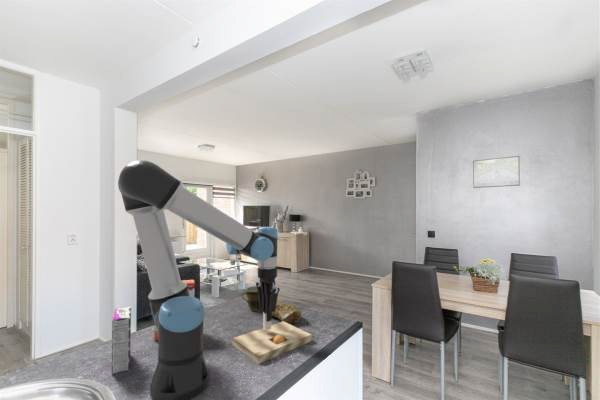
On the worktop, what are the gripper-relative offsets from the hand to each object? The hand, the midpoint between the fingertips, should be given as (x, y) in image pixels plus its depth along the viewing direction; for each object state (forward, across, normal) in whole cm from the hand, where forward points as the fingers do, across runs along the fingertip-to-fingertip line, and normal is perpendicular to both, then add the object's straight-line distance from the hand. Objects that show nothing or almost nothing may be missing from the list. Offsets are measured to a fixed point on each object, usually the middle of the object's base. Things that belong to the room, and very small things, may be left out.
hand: (266, 328), depth 110 cm
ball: (+2, -8, 0) cm, 8 cm away
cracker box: (+4, +26, +26) cm, 37 cm away
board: (+4, -4, 0) cm, 6 cm away
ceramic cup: (+4, +31, -13) cm, 34 cm away
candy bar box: (+4, +15, +46) cm, 48 cm away
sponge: (+5, +14, -17) cm, 23 cm away
